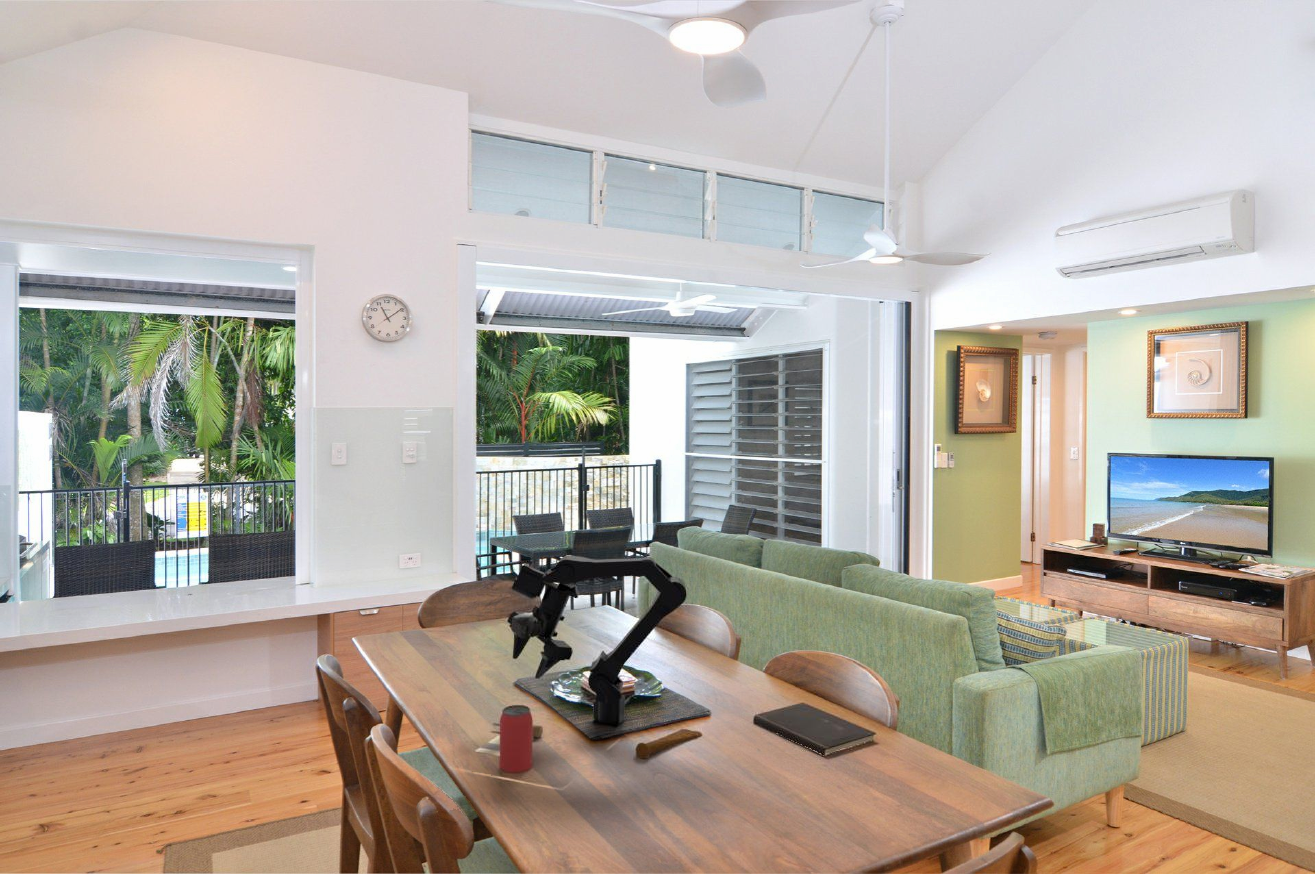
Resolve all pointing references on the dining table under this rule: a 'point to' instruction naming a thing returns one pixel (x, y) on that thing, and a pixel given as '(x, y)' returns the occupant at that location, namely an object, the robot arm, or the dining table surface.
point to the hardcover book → (813, 728)
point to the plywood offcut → (491, 747)
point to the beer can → (516, 739)
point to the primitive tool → (665, 742)
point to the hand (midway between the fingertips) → (525, 668)
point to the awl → (536, 730)
